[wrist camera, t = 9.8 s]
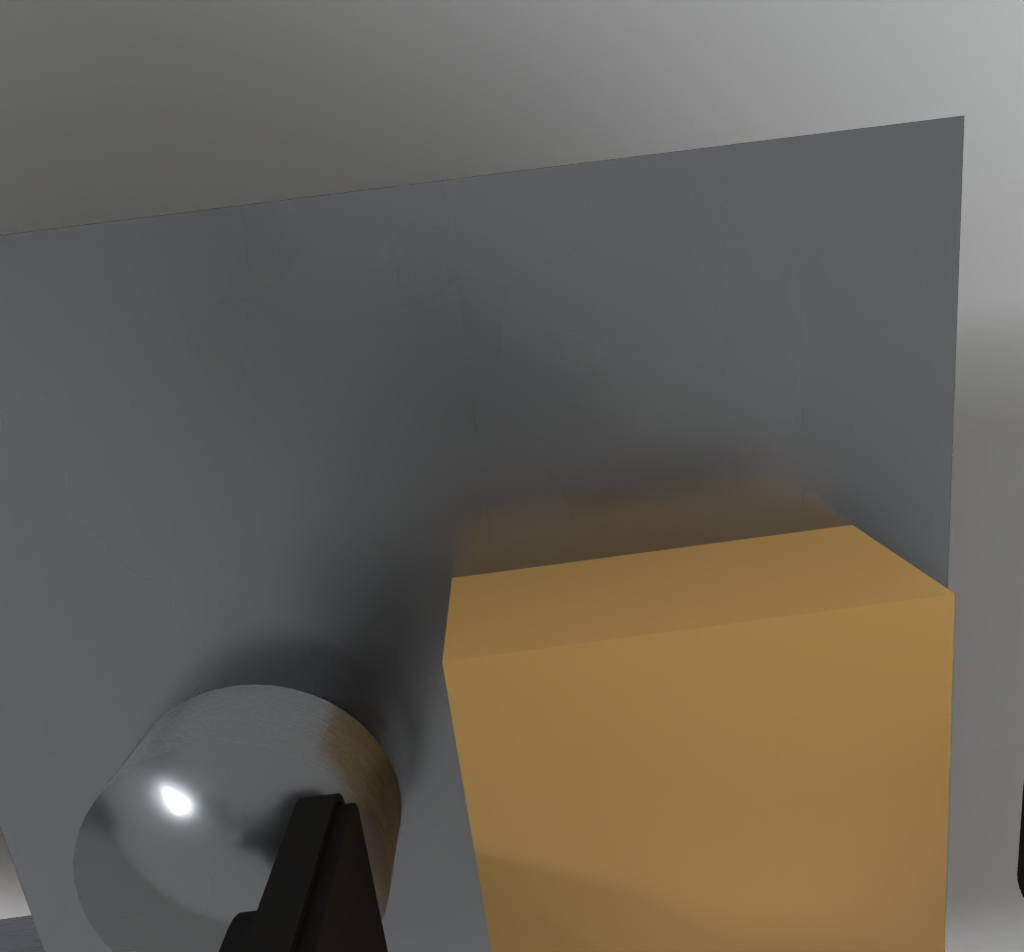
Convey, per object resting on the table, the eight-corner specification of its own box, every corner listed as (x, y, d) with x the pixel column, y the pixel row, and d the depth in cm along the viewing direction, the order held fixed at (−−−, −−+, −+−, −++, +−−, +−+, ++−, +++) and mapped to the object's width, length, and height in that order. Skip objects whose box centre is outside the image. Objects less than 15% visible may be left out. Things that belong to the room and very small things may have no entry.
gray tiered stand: (-149, 302, 18) (-941, 333, 8) (737, 192, 18) (1049, 87, 8) (54, 896, 23) (-287, 1385, 13) (760, 807, 23) (977, 1226, 13)
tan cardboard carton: (463, 474, 17) (442, 662, 9) (725, 439, 17) (955, 594, 9) (504, 741, 19) (517, 1106, 10) (741, 710, 19) (941, 1050, 10)
